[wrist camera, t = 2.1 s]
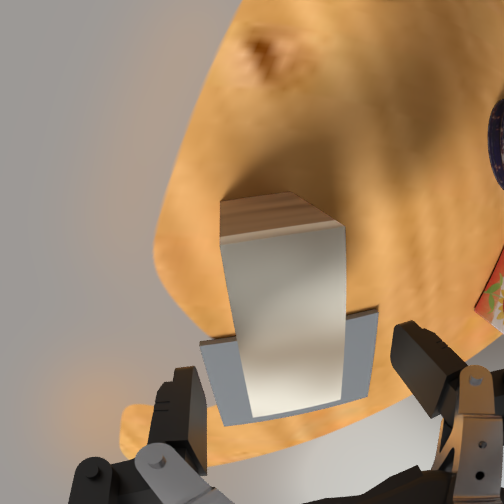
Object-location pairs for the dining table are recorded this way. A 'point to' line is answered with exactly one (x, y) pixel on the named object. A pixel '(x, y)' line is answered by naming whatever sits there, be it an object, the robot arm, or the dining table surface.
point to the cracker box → (494, 298)
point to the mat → (239, 410)
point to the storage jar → (497, 142)
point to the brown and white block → (286, 299)
